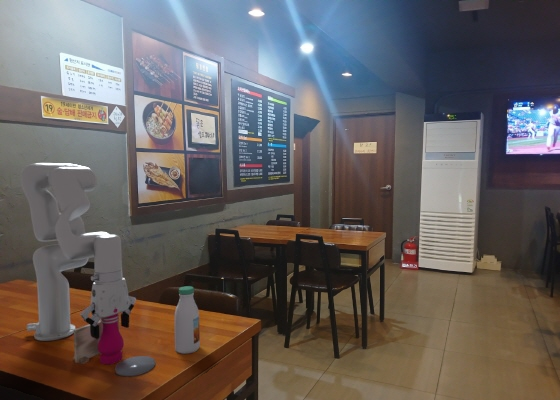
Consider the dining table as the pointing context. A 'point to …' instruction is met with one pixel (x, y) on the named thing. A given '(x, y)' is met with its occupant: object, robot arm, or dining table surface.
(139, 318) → the dining table surface
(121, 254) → the robot arm
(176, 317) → the milk bottle
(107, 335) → the pepper mill
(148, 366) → the coaster
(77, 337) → the screen
